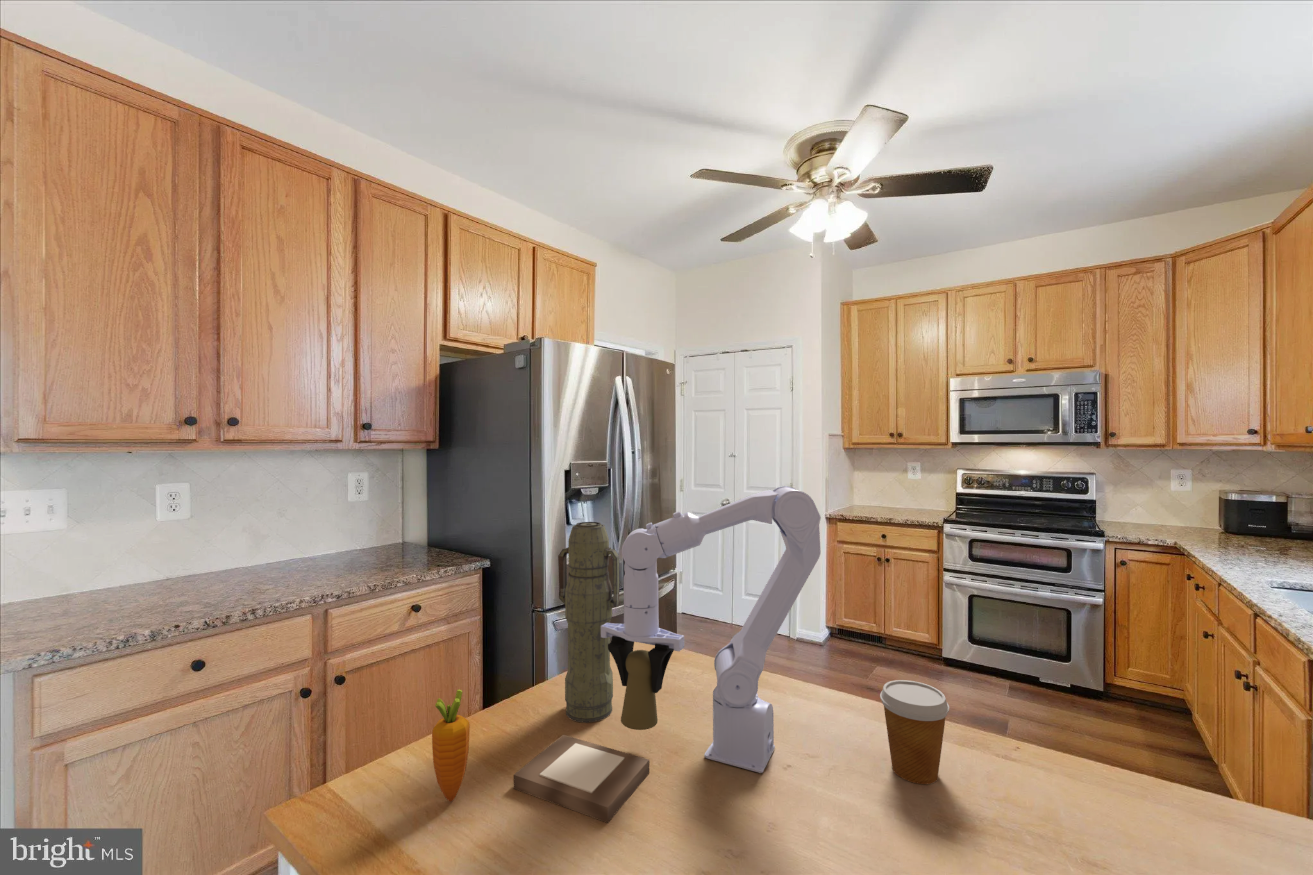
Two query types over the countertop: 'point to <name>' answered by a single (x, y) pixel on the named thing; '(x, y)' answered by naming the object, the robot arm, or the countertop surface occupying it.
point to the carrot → (450, 747)
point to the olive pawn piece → (639, 693)
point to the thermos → (588, 620)
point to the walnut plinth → (583, 777)
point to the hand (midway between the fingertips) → (641, 687)
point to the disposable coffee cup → (914, 728)
